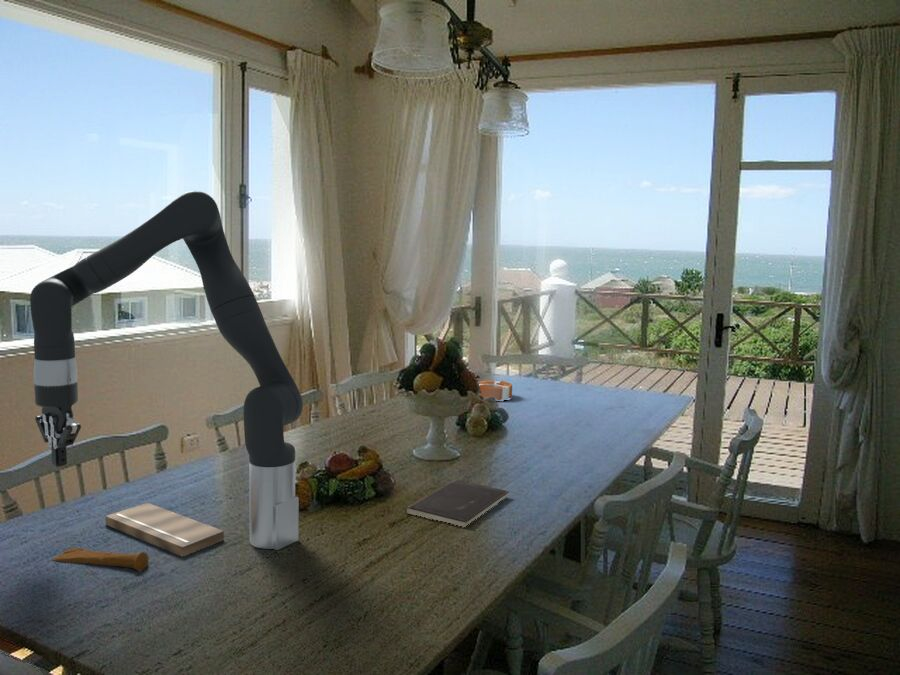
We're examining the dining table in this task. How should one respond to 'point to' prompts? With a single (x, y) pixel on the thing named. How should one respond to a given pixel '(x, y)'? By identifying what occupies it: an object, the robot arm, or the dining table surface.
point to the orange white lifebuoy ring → (496, 389)
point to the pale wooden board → (165, 529)
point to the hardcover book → (457, 502)
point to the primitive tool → (104, 558)
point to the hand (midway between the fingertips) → (59, 465)
